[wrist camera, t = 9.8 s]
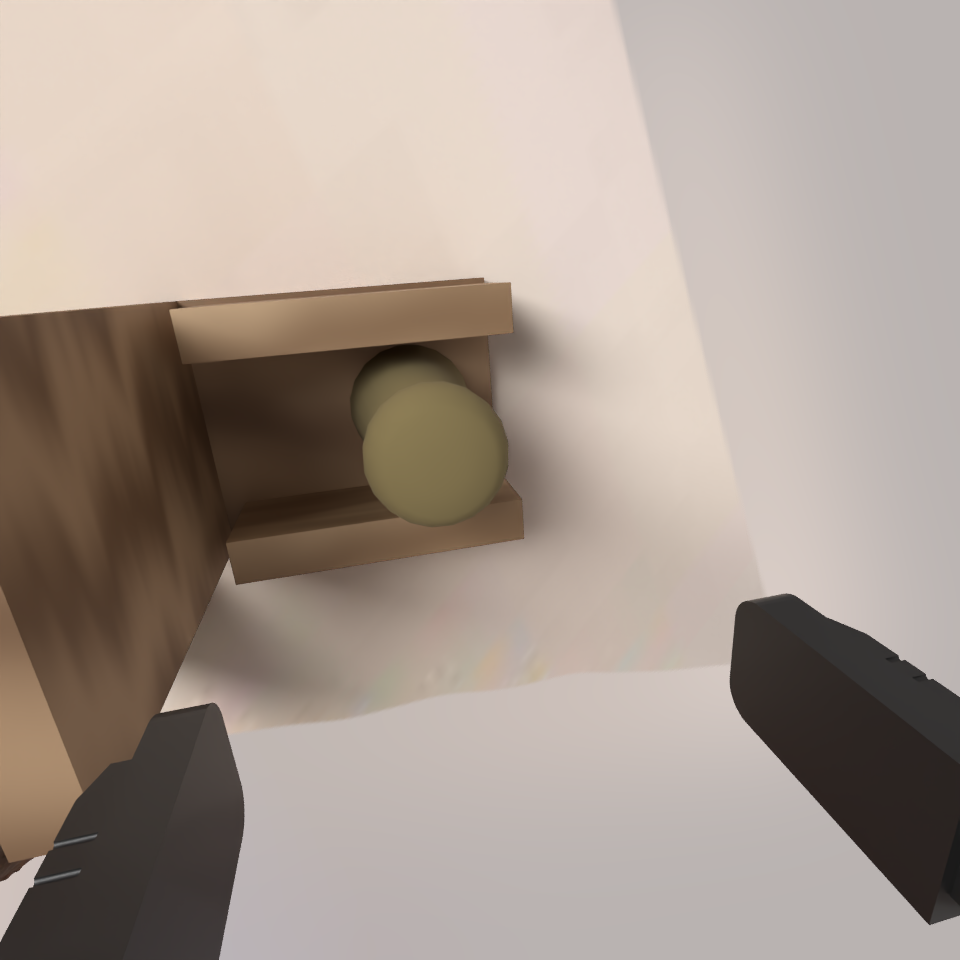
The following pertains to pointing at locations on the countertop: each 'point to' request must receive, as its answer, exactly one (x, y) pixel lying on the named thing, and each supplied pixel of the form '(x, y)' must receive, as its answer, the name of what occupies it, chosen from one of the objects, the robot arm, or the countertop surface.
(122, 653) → the wooden stand
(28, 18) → the countertop surface
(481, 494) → the olive rounded bulb piece
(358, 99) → the countertop surface
